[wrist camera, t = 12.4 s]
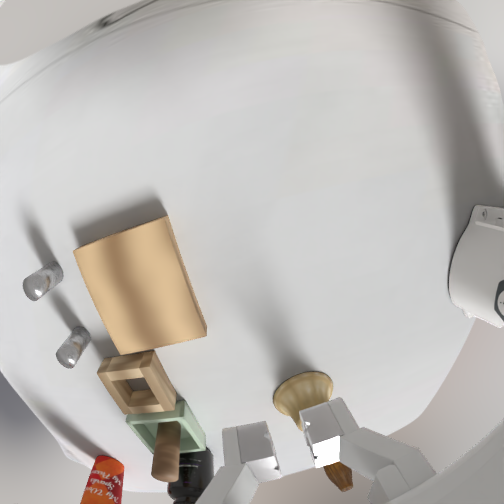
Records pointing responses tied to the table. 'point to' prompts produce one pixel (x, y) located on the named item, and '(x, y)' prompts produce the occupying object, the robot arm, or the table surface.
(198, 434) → the tray
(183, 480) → the supplement bottle
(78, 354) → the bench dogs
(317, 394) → the hand bell
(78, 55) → the table surface
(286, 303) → the table surface
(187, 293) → the curved tan panel
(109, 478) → the paper cup
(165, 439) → the dowel
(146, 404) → the socket block
